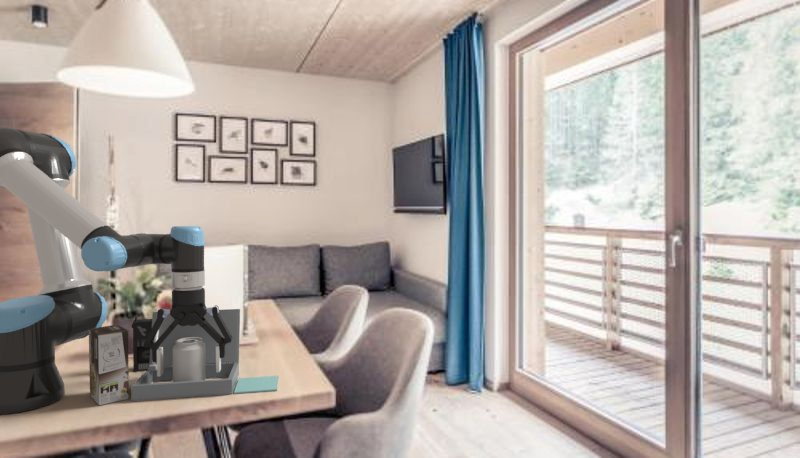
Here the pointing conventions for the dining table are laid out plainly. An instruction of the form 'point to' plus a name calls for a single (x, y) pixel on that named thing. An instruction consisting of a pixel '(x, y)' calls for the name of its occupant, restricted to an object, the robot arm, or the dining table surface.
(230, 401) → the dining table surface
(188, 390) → the case
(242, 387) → the pad
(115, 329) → the coffee box
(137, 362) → the geiger counter
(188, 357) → the can
